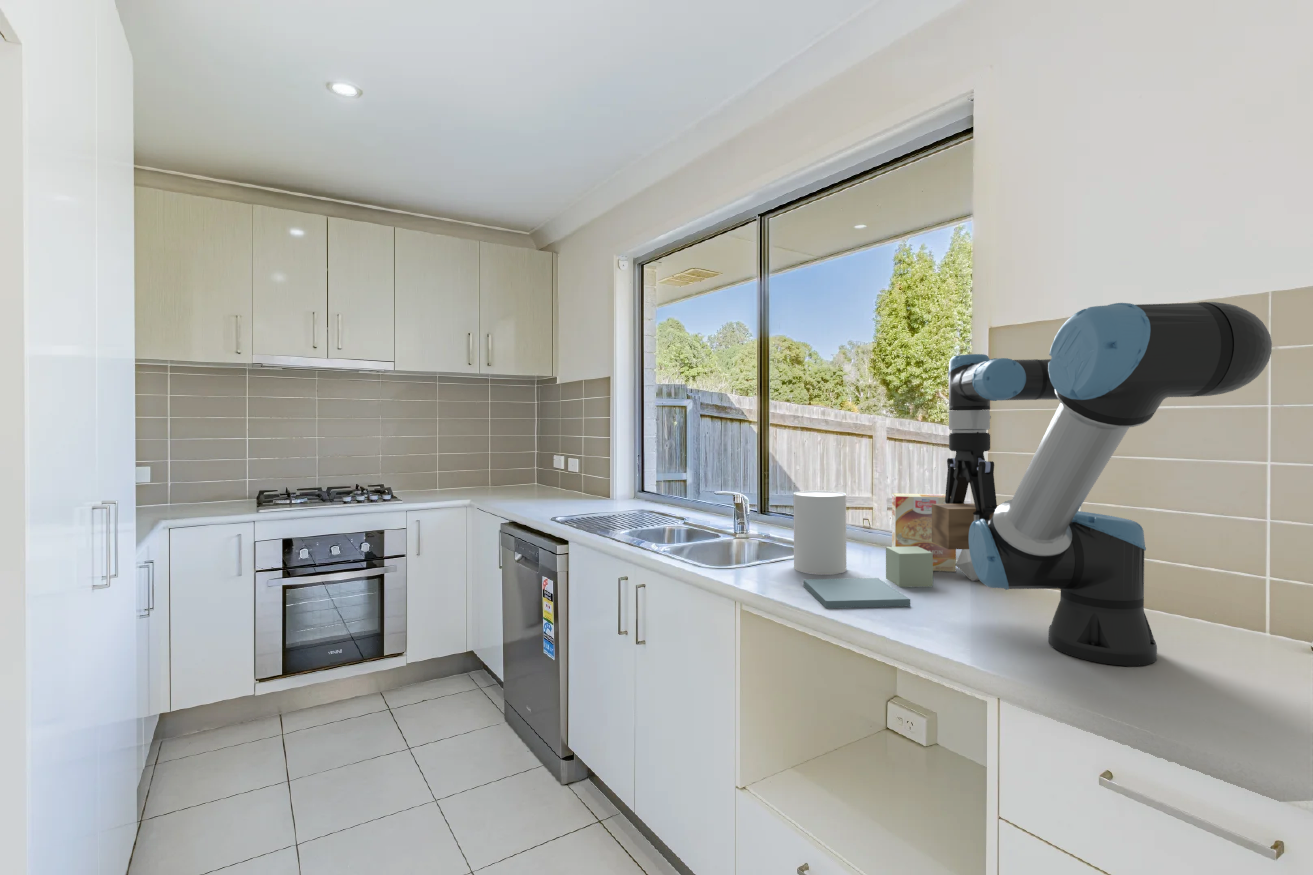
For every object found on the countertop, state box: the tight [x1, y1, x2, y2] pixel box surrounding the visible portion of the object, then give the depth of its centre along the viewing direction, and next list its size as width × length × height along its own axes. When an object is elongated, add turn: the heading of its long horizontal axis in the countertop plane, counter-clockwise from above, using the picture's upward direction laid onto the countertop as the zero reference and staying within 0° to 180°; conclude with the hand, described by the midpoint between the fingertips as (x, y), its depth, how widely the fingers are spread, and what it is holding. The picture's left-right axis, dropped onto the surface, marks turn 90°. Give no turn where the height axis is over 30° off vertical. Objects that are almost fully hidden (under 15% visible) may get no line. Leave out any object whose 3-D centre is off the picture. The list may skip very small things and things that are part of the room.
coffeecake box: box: [891, 492, 957, 573], centre depth 168 cm, size 15×7×20 cm, turn 77°
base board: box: [802, 577, 911, 609], centre depth 143 cm, size 18×18×2 cm
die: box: [956, 549, 980, 582], centre depth 156 cm, size 8×9×10 cm
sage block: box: [885, 546, 934, 588], centre depth 154 cm, size 8×8×8 cm
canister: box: [793, 490, 847, 576], centre depth 169 cm, size 14×14×20 cm
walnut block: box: [932, 502, 999, 550], centre depth 129 cm, size 8×12×8 cm, turn 89°
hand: (969, 543), depth 129 cm, fingers closed on walnut block, 8 cm apart
